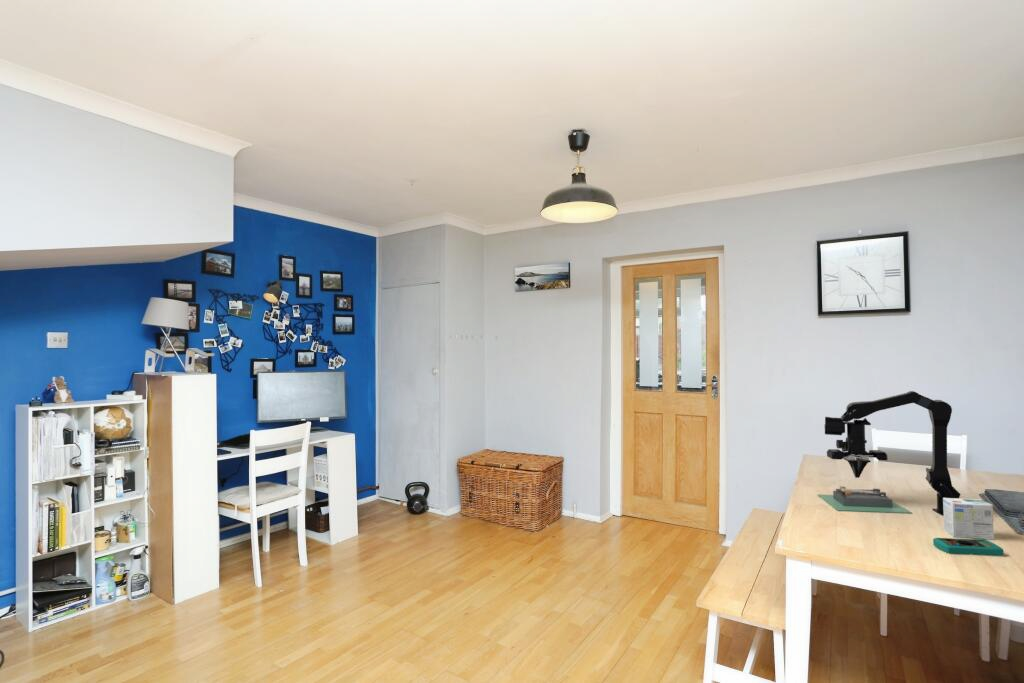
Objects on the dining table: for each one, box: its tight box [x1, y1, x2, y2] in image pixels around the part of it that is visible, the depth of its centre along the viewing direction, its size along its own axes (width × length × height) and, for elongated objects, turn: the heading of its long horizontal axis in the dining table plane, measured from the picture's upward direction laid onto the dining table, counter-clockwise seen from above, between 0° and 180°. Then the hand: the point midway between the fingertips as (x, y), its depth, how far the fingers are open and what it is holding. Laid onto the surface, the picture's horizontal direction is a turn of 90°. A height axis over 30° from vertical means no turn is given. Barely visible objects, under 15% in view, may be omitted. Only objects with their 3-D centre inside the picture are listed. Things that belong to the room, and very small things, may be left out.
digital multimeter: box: [932, 537, 1004, 557], centre depth 155 cm, size 7×15×3 cm, turn 80°
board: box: [817, 493, 913, 515], centre depth 200 cm, size 20×24×1 cm
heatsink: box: [832, 486, 893, 508], centre depth 200 cm, size 10×16×5 cm, turn 79°
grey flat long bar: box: [841, 488, 879, 496], centre depth 200 cm, size 3×12×1 cm, turn 78°
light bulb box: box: [943, 497, 995, 540], centre depth 167 cm, size 11×7×11 cm, turn 74°
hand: (857, 477), depth 200 cm, fingers closed
